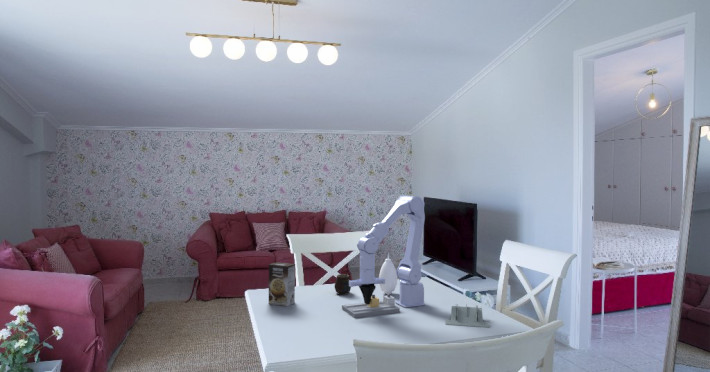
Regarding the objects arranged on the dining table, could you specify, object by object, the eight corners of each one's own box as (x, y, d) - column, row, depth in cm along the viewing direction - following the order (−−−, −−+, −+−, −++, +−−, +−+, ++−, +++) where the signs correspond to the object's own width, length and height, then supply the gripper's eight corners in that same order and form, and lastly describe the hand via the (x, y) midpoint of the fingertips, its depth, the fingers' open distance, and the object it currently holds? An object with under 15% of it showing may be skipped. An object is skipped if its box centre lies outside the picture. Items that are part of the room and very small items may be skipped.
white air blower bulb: (375, 294, 210) (376, 253, 210) (384, 290, 217) (385, 251, 216) (391, 297, 206) (391, 255, 205) (400, 293, 212) (400, 252, 212)
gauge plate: (385, 304, 195) (385, 290, 195) (399, 312, 184) (400, 297, 184) (341, 309, 188) (342, 294, 187) (354, 317, 177) (354, 302, 176)
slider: (374, 303, 189) (374, 293, 189) (379, 306, 185) (379, 295, 185) (367, 304, 188) (367, 294, 187) (372, 307, 184) (372, 296, 184)
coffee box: (267, 304, 194) (267, 264, 194) (276, 300, 200) (276, 261, 200) (287, 306, 191) (287, 266, 190) (295, 302, 197) (295, 263, 196)
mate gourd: (343, 290, 217) (343, 268, 216) (354, 293, 211) (355, 271, 211) (331, 293, 212) (331, 270, 212) (342, 296, 206) (342, 273, 206)
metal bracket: (446, 300, 181) (487, 302, 178) (446, 313, 183) (486, 316, 180) (445, 322, 168) (489, 325, 165) (445, 336, 170) (489, 339, 167)
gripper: (379, 265, 191) (379, 299, 192) (345, 267, 186) (345, 302, 186) (387, 268, 185) (387, 303, 185) (353, 271, 179) (352, 307, 180)
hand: (367, 303), depth 185 cm, fingers closed
